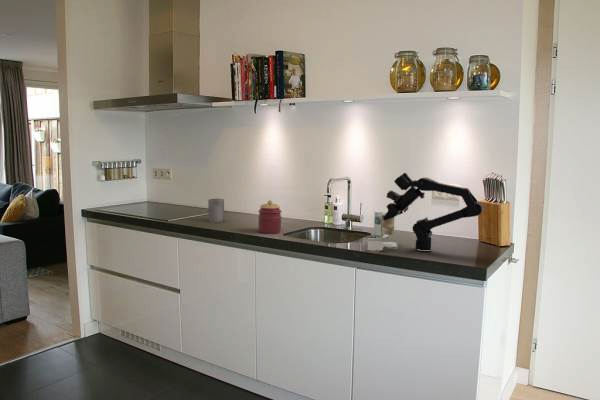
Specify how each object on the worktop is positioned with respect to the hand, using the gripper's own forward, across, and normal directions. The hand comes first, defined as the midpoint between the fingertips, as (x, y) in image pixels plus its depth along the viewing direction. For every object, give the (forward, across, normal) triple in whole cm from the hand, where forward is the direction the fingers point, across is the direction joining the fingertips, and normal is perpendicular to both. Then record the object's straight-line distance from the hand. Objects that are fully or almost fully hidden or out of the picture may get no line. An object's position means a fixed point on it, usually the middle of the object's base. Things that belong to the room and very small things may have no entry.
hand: (385, 219), depth 224 cm
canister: (+56, -1, -38) cm, 68 cm away
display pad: (+8, 0, +10) cm, 13 cm away
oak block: (+4, 0, +6) cm, 7 cm away
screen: (+10, +13, +9) cm, 19 cm away
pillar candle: (+89, -13, -71) cm, 115 cm away
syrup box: (+15, -18, +4) cm, 24 cm away
